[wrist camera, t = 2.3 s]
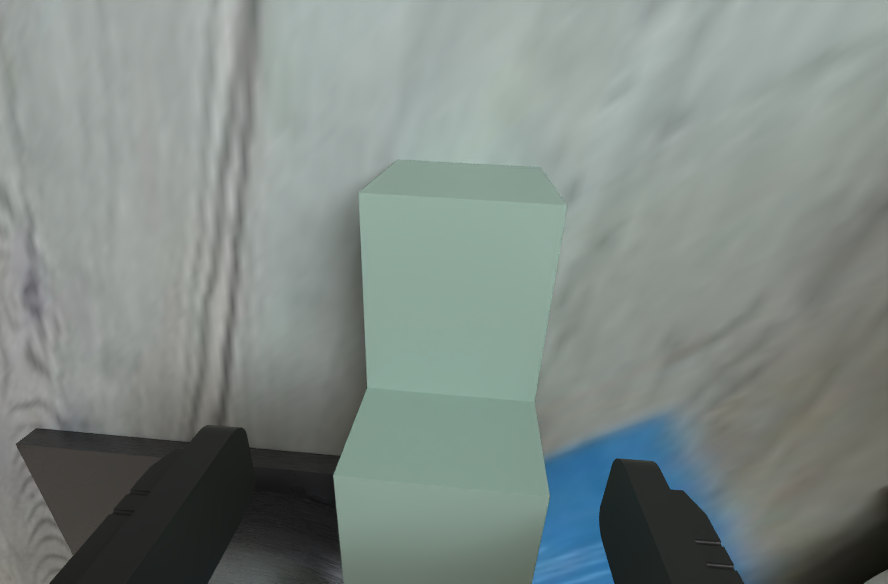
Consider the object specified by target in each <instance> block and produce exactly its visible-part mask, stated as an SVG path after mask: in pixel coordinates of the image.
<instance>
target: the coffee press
mask: <svg viewBox="0 0 888 584" xmlns="http://www.w3.org/2000/svg"><path fill="white" fill-rule="evenodd" d="M864 584H888V570H886V571H884V572H882V573H880V574H878V575H876V576H875V577H873V578H871V579H870V580H868V581H867V582H865V583H864Z"/></svg>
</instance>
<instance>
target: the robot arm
mask: <svg viewBox="0 0 888 584" xmlns="http://www.w3.org/2000/svg"><path fill="white" fill-rule="evenodd" d="M254 489H255V474H254V469H253V464H252V459H251V454H250V449H249V444H248V439H247V434H246V431H245V430H244V429H243V428H238V427H225V426H213V425H207V426H205V427H203V428H202V429H201V430H200V431H199V432H198V433H197V434H196V436H195V437H194V438H193V439H192V441H191V442H190V443H189V444H188V446H187V447H186V448H185V449H178V448H176V449H174V450H173V451H172V452H170V453H169V454H167V455H166V456H164V457H163V458H162V459H160V460H159V461H157V462H156V463H155V464H153V465H152V466H150V467H149V468H148V470H147V471H146V472H145V473H144V474H143V475H142V477H141V478H140V479H139V480H138V481H137V482H136V484H135V485H134V486H133V487H132V488H131V489H130V493H129V494H126V495H125V496H124V497H123V499H122V500H121V501H120V502H119V503H118V504H117V506H116V507H115V508H114V511H113V513H112V514H109V515H108V516H107V517H106V518H105V520H104V521H103V522H102V523H101V524H100V525H99V526H98V528H97V529H96V530H95V531H94V532H93V533H92V535H91V536H90V537H89V538H88V539H87V540H86V542H85V543H84V544H83V545H82V546H81V547H80V549H79V550H78V551H77V552H76V553H75V554H74V556H73V557H72V558H71V559H70V560H69V561H68V562H67V564H66V565H65V566H64V567H63V568H62V569H61V571H60V572H59V573H58V574H57V575H56V576H55V578H54V579H53V580H52V581H51V582H50V583H49V584H208V582H209V580H210V579H211V577H212V575H213V573H214V571H215V569H216V567H217V566H218V564H219V562H220V560H221V558H222V556H223V554H224V553H225V551H226V549H227V547H228V545H229V543H230V541H231V540H232V538H233V536H234V534H235V532H236V530H237V528H238V527H239V525H240V523H241V521H242V519H243V517H244V515H245V514H246V512H247V510H248V508H249V506H250V503H251V501H252V498H253V494H254ZM599 524H600V533H601V538H602V542H603V545H604V549H605V552H606V556H607V559H608V563H609V566H610V570H611V573H612V577H613V580H614V584H744V582H743V581H742V579H741V577H740V575H739V573H738V572H737V571H735V570H734V567H733V565H734V564H733V562H732V561H731V559H730V557H729V555H728V553H727V552H726V550H725V548H724V547H722V546H721V541H720V539H719V537H718V535H717V533H716V532H715V530H714V528H713V526H712V524H711V523H710V521H709V519H708V517H707V515H706V514H705V513H704V512H703V511H702V510H701V509H700V508H699V507H698V506H697V505H696V503H695V502H694V501H693V500H692V499H691V498H690V497H689V496H688V495H687V494H686V493H685V492H684V491H682V490H670V488H669V486H668V484H667V482H666V480H665V478H664V476H663V474H662V472H661V470H660V468H659V467H658V465H657V464H656V463H655V462H653V461H644V460H631V459H618V458H617V459H615V460H614V462H613V464H612V467H611V471H610V474H609V478H608V481H607V485H606V488H605V492H604V495H603V499H602V502H601V506H600V513H599Z"/></svg>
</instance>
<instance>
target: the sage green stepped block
mask: <svg viewBox="0 0 888 584" xmlns="http://www.w3.org/2000/svg"><path fill="white" fill-rule="evenodd" d="M566 210H567V204H566V203H565V201H564V200H563V199H562V197H561V196H560V194H559V193H558V192H557V190H556V189H555V187H554V186H553V185H552V183H551V182H550V180H549V179H548V177H547V176H546V175H545V173H544V172H543V170H542V169H541V168H540V167H522V166H504V165H486V164H467V163H449V162H431V161H413V160H397V161H396V162H395V163H393V164H392V165H391V166H390V167H389V168H387V169H386V170H385V171H384V172H383V173H381V174H380V175H379V176H378V177H377V178H375V179H374V180H373V181H372V182H371V183H370V184H368V185H367V186H366V187H365V188H364V189H362V190H361V191H360V192H359V214H360V237H361V259H362V281H363V304H364V326H365V348H366V371H367V390H366V392H365V395H364V397H363V400H362V403H361V405H360V408H359V410H358V413H357V416H356V418H355V421H354V423H353V426H352V428H351V431H350V434H349V436H348V439H347V441H346V444H345V446H344V449H343V452H342V454H341V457H340V459H339V462H338V465H337V467H336V470H335V472H334V475H333V478H334V489H335V499H336V509H337V519H338V530H339V540H340V550H341V560H342V570H343V581H344V584H532V580H533V575H534V570H535V566H536V561H537V556H538V551H539V547H540V542H541V537H542V532H543V528H544V523H545V518H546V513H547V509H548V504H549V499H550V494H549V488H548V482H547V476H546V469H545V463H544V457H543V451H542V445H541V439H540V432H539V426H538V420H537V414H536V408H535V397H536V391H537V385H538V379H539V373H540V367H541V361H542V355H543V349H544V343H545V337H546V330H547V324H548V318H549V312H550V306H551V300H552V294H553V288H554V282H555V276H556V270H557V264H558V258H559V252H560V246H561V240H562V234H563V228H564V222H565V216H566Z"/></svg>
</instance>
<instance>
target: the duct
mask: <svg viewBox="0 0 888 584" xmlns="http://www.w3.org/2000/svg"><path fill="white" fill-rule="evenodd" d="M188 444H189V443H187V442H177V441H166V440H155V439H144V438H133V437H122V436H111V435H100V434H89V433H78V432H68V431H57V430H46V429H35V430H33V431H32V432H31V433H29V434H28V435H27V436H26V437H24V438H23V439H22V440H20V441H19V442H18V443H16V446H17V448H18V450H19V452H20V453H21V455H22V457H23V459H24V461H25V463H26V465H27V467H28V469H29V471H30V473H31V475H32V477H33V478H34V480H35V482H36V484H37V486H38V488H39V490H40V492H41V494H42V496H43V498H44V500H45V502H46V503H47V505H48V507H49V509H50V511H51V513H52V515H53V517H54V519H55V521H56V523H57V525H58V527H59V529H60V530H61V532H62V534H63V536H64V538H65V540H66V542H67V544H68V546H69V548H70V550H71V552H72V554H73V555H74V554H75V553H76V552H77V551H78V550H79V549H80V547H81V546H82V545H83V544H84V543H85V542H86V540H87V539H88V538H89V537H90V536H91V535H92V533H93V532H94V531H95V530H96V529H97V528H98V526H99V525H100V524H101V523H102V522H103V521H104V520H105V518H106V517H107V516H108V515H109V514H112V513H113V511H114V508H115V507H116V506H117V504H118V503H119V502H120V501H121V500H122V499H123V497H124V496H125V495H126V494H129V493H130V489H131V488H132V487H133V486H134V485H135V484H136V482H137V481H138V480H139V479H140V478H141V477H142V475H143V474H144V473H145V472H146V471H147V470H148V468H149V467H150V466H152V465H153V464H155V463H156V462H157V461H159V460H160V459H162V458H163V457H164V456H166V455H167V454H169V453H170V452H172V451H173V450H174V449H176V448H178V449H185V448H186V447H187V446H188ZM249 449H250V454H251V459H252V464H253V469H254V474H255V489H254V494H253V498H252V501H251V503H250V506H249V508H248V510H247V512H246V514H245V515H244V517H243V519H242V521H241V523H240V525H239V527H238V528H237V530H236V532H235V534H234V536H233V538H232V540H231V541H230V543H229V545H228V547H227V549H226V551H225V553H224V554H223V556H222V558H221V560H220V562H219V564H218V566H217V567H216V569H215V571H214V573H213V575H212V577H211V579H210V580H209V582H208V584H344V581H343V570H342V560H341V550H340V540H339V530H338V519H337V509H336V499H335V489H334V478H333V475H334V472H335V470H336V467H337V465H338V462H339V459H340V456H329V455H318V454H307V453H296V452H286V451H275V450H264V449H253V448H249Z"/></svg>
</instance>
